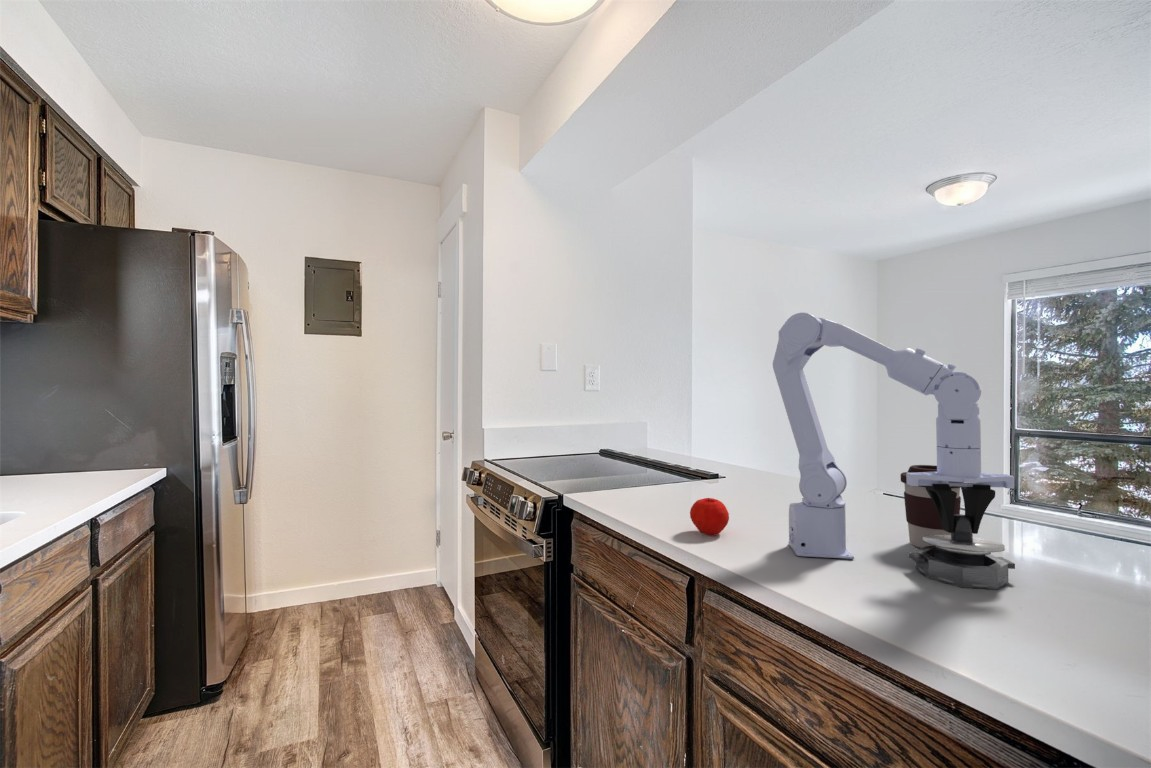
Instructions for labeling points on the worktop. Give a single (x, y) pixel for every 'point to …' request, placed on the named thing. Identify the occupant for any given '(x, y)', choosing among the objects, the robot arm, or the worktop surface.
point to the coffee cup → (924, 508)
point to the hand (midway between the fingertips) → (959, 531)
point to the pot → (962, 568)
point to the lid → (963, 539)
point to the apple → (709, 516)
